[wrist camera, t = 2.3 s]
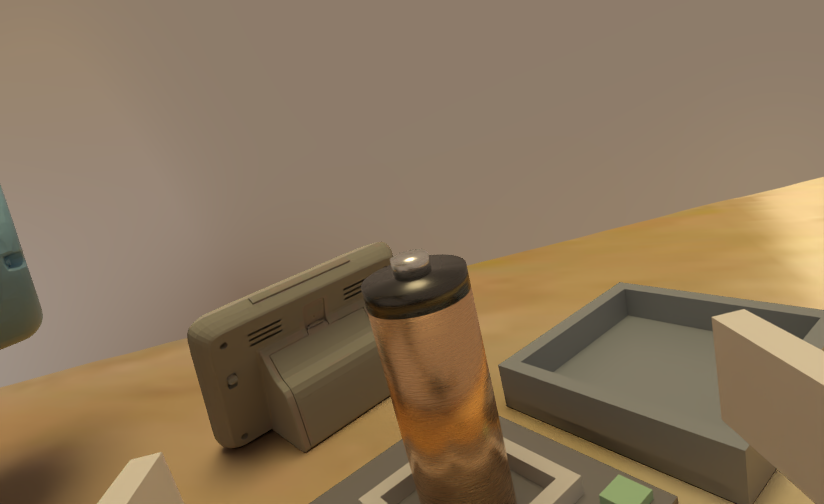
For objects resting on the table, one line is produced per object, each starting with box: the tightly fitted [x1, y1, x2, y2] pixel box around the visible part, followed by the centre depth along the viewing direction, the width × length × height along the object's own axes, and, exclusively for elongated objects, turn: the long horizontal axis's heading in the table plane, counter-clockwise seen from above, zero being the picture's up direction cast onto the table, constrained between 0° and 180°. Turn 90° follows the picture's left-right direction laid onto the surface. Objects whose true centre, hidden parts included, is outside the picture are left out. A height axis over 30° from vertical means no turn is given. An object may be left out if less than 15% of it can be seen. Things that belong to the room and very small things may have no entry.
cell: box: [361, 249, 516, 504], centre depth 23 cm, size 4×4×13 cm
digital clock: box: [187, 242, 393, 452], centre depth 37 cm, size 16×9×11 cm, turn 120°
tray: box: [498, 282, 824, 504], centre depth 31 cm, size 14×14×3 cm
